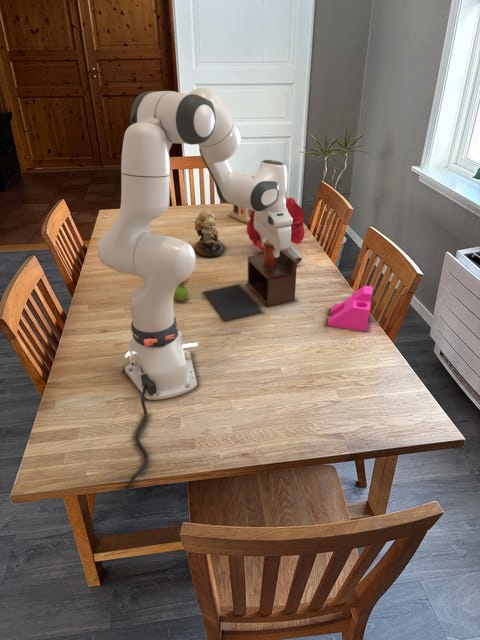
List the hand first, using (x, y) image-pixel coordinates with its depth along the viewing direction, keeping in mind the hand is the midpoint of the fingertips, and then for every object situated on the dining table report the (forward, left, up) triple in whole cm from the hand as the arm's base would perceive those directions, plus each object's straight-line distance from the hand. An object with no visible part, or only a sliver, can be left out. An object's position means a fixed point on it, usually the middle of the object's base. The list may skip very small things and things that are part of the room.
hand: (270, 251), depth 165 cm
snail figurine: (+7, +30, -13) cm, 33 cm away
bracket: (-26, -15, -16) cm, 34 cm away
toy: (0, 0, -5) cm, 5 cm away
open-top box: (0, 0, -16) cm, 16 cm away
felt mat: (-1, +15, -16) cm, 21 cm away
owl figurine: (+42, +7, -16) cm, 45 cm away
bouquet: (+28, -17, -16) cm, 36 cm away
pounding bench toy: (+66, -25, -16) cm, 73 cm away
